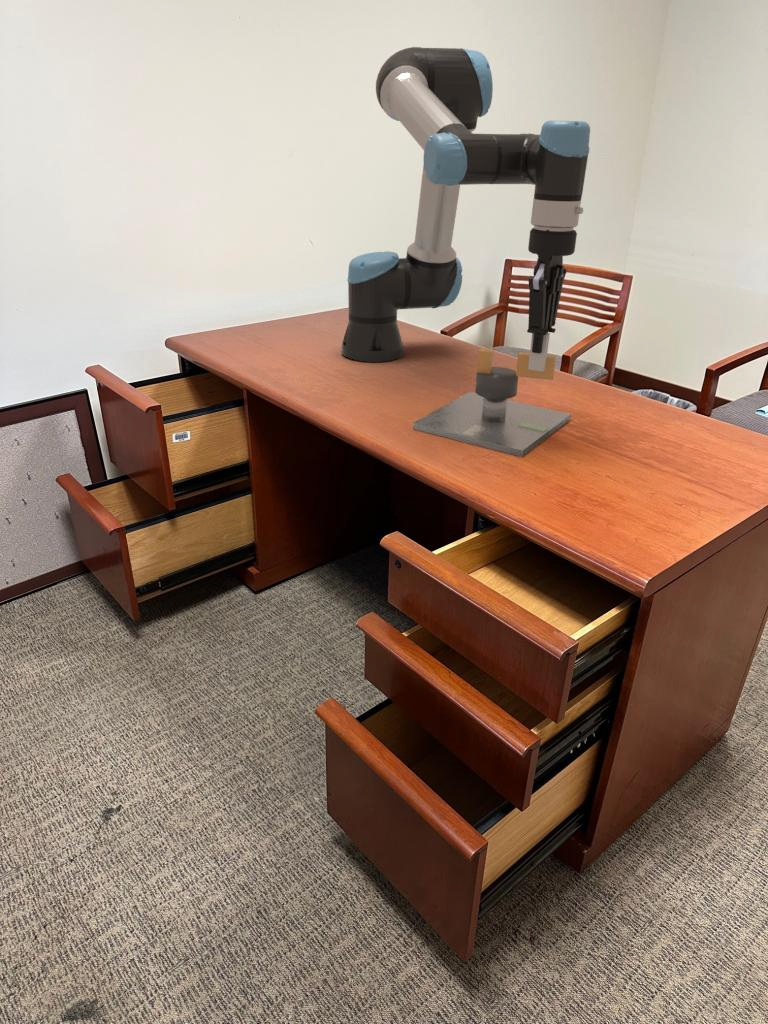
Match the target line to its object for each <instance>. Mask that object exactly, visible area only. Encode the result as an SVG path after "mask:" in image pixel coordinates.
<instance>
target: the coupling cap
mask: <svg viewBox="0 0 768 1024" xmlns="http://www.w3.org/2000/svg"><path fill="white" fill-rule="evenodd" d="M529 357H530V352H523V351H519V352H518V353H517V359H516V360H517V362H516V369H515V370H514V369H512V368H509V367H503V366H501V367H500V366H493V362H494V361H493V360H494V349H490V348H480V349H479V350H478V358H477V371H476V375H475V377H476V378H475V392H474V393H476V394H478V395H479V396H482V397H485V398H490V399H507V400H508V399H509V400H510V399H512V398H514V397H516V396H517V394H518V386H519V385H518V384H519V383H518V382H519V378H532V379H540V380H550V381H553V380H554V376H555V368H556V360H557V354H548V353H547V359H546V367H545V370H544V371H543V372H541V371H535V370H529V369H528V366H529Z"/></svg>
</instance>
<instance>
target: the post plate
mask: <svg viewBox="0 0 768 1024" xmlns="http://www.w3.org/2000/svg"><path fill="white" fill-rule="evenodd" d="M571 415H572V414H571V413H568V412H564V411H559V410H554V409H549V408H546V407H541V406H536V405H533V404H527V403H522V402H518V401H514V400H510V399H509V400H508V399H490V398H485V397H482V396H479V395H478V394H476V392H473V391H469V392H467V393H465V394H463V395H461V396H459V397H458V398H456V399H454V400H452V401H451V402H449V403H447V404H445V405H443V406H442V407H440V408H438V409H436V410H433V411H432V412H430V413H429V414H427V415H425V416H423V417H421V418H419V419H417V420H416V421H414V422H413V424H412V429H413V430H415V431H419V432H423V433H427V434H431V435H434V436H435V435H436V436H439V437H442V438H447V439H450V440H454V441H458V442H463V443H466V444H469V445H474V446H478V447H482V448H486V449H488V450H489V449H490V450H493V451H498V452H501V453H504V454H505V453H506V454H509V455H513V456H515V457H516V456H517V457H520V458H523V457H524V456H525V455H526V454H528V453H529V452H530V451H532V450H533V449H535V448H536V447H537V446H538V445H540V444H541V443H542V442H544V441H545V440H546V439H547V438H549V437H550V436H551V435H552V434H554V433H556V431H558V430H560V428H561V427H563V426H564V425H565V424H567V423H568V422H569V421H571V418H572V417H571Z"/></svg>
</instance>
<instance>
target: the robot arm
mask: <svg viewBox="0 0 768 1024" xmlns="http://www.w3.org/2000/svg"><path fill="white" fill-rule="evenodd" d="M492 75H493V74H492V71H491V67H490V64H489V61H488V59H487V57H486V56H485V55H484V54H483V53H482V52H481V51H478V50H473V49H468V48H466V49H465V48H453V47H452V48H449V47H448V48H447V47H420V46H419V47H418V46H412V47H406V48H403V49H400V50H399V51H397V52H395V53H393V54H392V55H391V56H389V57H388V58H387V59H386V60H385V62H384V63H383V64H382V66H381V67H380V69H379V71H378V74H377V77H376V81H375V93H376V98H377V102H378V104H379V105H380V108H381V109H382V111H384V113H385V114H386V115H387V116H388V117H389V118H391V119H392V120H394V121H398V122H399V123H401V125H402V126H403V127H404V128H405V130H406V131H407V132H408V133H409V134H410V135H411V137H412V138H413V139H414V141H416V142H417V144H418V145H419V146H420V148H421V149H422V150H423V166H422V174H421V182H420V193H419V201H418V208H417V218H416V227H415V234H414V235H415V236H414V242H412V243H411V244H410V245H409V246H408V247H407V248H406V249H407V250H406V257H401V258H400V257H399V255H398V253H397V252H395V251H374V252H367V253H364V254H360V255H358V256H355V257H354V258H351V260H350V262H349V264H348V273H347V274H348V275H347V284H348V285H347V286H348V287H347V288H348V289H347V290H348V291H347V293H348V295H347V296H348V322H347V323H348V324H347V327H346V330H345V333H344V336H343V340H342V342H341V355H342V354H343V355H344V356H346V357H348V358H347V359H349V358H351V359H350V360H352V359H354V360H353V361H357V360H359V361H358V362H364V361H365V362H366V363H367V362H368V363H381V362H382V363H383V362H389V361H394V360H395V361H396V360H397V359H400V358H401V357H403V356H404V343H403V340H402V339H403V338H402V337H401V336H402V335H401V332H400V329H399V326H398V311H399V310H412V309H416V310H417V309H437V308H442V307H448V306H450V305H451V304H452V303H454V302H455V301H456V299H458V296H459V294H460V291H461V288H462V283H463V274H462V273H463V266H462V263H461V261H460V259H459V257H457V251H456V250H455V249H454V248H453V247H452V242H453V237H454V229H455V224H456V223H455V222H456V216H457V209H458V202H459V197H460V196H459V195H460V189H461V186H463V185H465V186H466V185H467V186H468V185H469V186H470V185H532V186H533V185H535V186H534V193H533V194H534V195H533V200H532V201H533V202H532V208H531V217H530V224H531V226H533V227H532V228H531V229H530V230H529V237H528V238H529V239H528V248H527V249H528V252H529V253H531V254H534V255H537V260H536V264H535V265H534V268H533V276H531V275H530V276H529V277H528V287H529V288H528V289H529V296H528V297H529V298H528V299H529V300H528V327H527V328H528V329H526V332H527V334H529V333H530V334H531V342H530V351H529V353H530V357H529V366H528V369H529V370H535V371H541V372H543V371H544V370H545V367H546V359H547V354H548V350H549V345H550V343H549V342H550V335H551V333H552V334H553V333H556V328H553V327H555V325H556V320H557V314H558V310H559V305H560V300H561V295H562V289H563V284H564V281H565V279H566V278H565V277H566V274H567V268H564V267H565V266H564V265H563V263H564V262H563V261H564V260H563V259H564V257H567V256H571V255H573V254H574V253H575V252H576V243H577V236H578V233H577V230H575V229H574V228H576V227H578V226H579V219H580V215H581V214H583V213H584V208H583V207H581V204H582V198H583V197H582V196H583V191H584V186H585V184H584V183H585V179H586V170H587V165H588V158H589V153H590V145H589V144H590V136H591V126H590V124H589V123H588V122H586V121H582V120H581V121H580V120H547V121H546V120H545V122H544V123H543V124H542V126H541V130H540V134H535V133H519V134H518V133H515V134H514V133H507V134H506V133H473V132H474V131H475V130H476V128H477V124H478V118H482V117H483V116H486V114H488V112H489V110H490V108H491V106H492V101H493V100H492V99H493V89H494V88H493V84H494V83H493V76H492ZM343 355H342V356H343ZM344 356H343V357H344ZM346 357H345V358H346Z"/></svg>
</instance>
